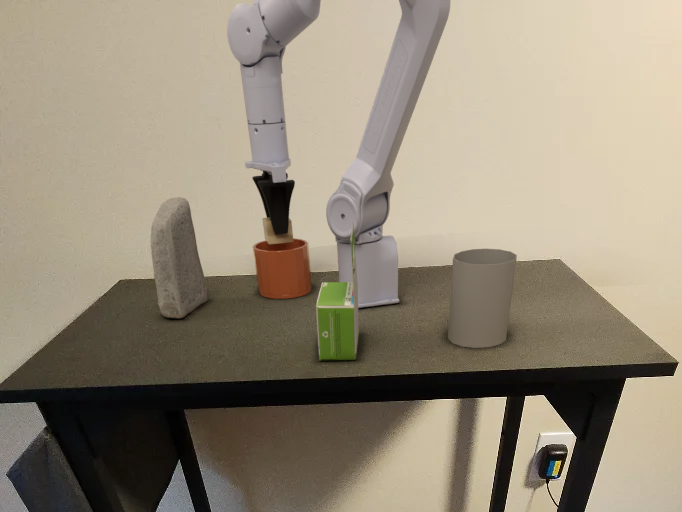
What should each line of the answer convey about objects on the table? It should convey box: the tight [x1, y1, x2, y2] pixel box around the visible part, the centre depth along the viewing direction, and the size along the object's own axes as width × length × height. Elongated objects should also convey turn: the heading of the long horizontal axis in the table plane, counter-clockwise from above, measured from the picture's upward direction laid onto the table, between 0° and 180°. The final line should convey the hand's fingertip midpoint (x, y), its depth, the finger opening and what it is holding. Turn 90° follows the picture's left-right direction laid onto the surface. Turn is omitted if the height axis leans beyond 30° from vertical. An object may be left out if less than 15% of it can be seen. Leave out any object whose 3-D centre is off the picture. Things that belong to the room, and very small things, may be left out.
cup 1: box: [252, 237, 313, 300], centre depth 102 cm, size 9×9×7 cm
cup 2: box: [447, 248, 518, 349], centre depth 81 cm, size 8×8×10 cm
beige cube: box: [261, 217, 294, 245], centre depth 98 cm, size 4×4×3 cm
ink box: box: [315, 224, 360, 362], centre depth 79 cm, size 10×5×14 cm, turn 178°
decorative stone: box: [150, 196, 209, 319], centre depth 94 cm, size 11×6×15 cm, turn 168°
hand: (278, 230), depth 98 cm, fingers closed on beige cube, 4 cm apart
